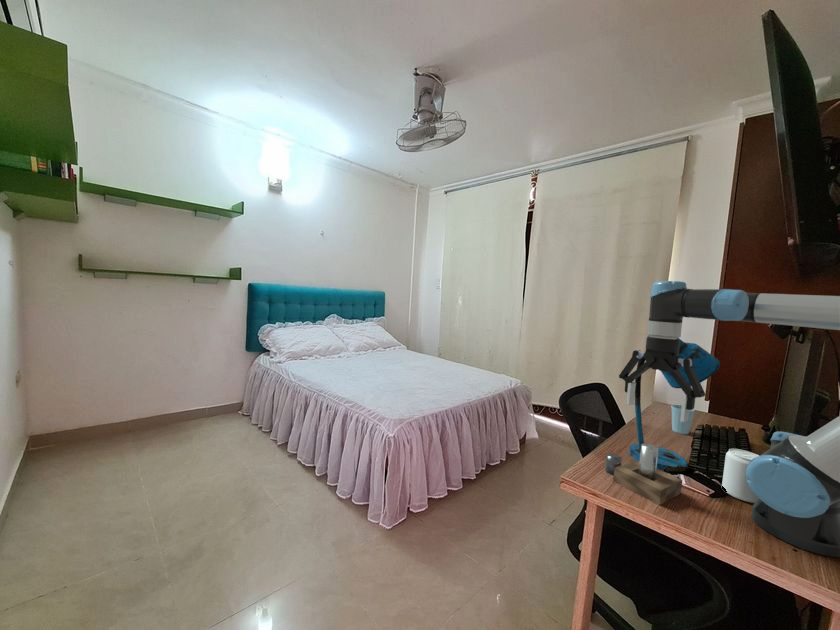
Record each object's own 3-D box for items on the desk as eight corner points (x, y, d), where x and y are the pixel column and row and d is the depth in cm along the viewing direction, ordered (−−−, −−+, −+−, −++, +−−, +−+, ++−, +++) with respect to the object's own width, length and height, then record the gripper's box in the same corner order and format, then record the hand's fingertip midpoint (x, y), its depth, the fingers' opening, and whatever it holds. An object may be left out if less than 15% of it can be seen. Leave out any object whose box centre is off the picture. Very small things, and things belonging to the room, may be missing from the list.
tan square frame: (680, 493, 91) (682, 479, 91) (659, 505, 85) (660, 490, 85) (635, 472, 101) (636, 459, 101) (613, 480, 96) (614, 467, 95)
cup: (694, 433, 136) (697, 409, 136) (688, 437, 132) (691, 412, 131) (672, 426, 143) (675, 403, 142) (666, 430, 138) (668, 406, 138)
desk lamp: (717, 479, 100) (735, 334, 97) (636, 465, 105) (651, 327, 102) (688, 455, 115) (704, 329, 112) (619, 444, 121) (632, 324, 118)
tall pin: (657, 489, 92) (661, 448, 92) (649, 493, 90) (654, 451, 90) (641, 482, 96) (645, 442, 95) (634, 485, 94) (638, 444, 93)
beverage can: (770, 507, 87) (776, 464, 87) (734, 501, 89) (740, 459, 88) (746, 489, 95) (751, 450, 94) (714, 484, 97) (719, 445, 96)
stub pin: (622, 474, 100) (624, 458, 100) (615, 476, 98) (617, 460, 98) (609, 467, 103) (611, 452, 103) (602, 470, 101) (603, 454, 101)
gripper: (727, 344, 81) (717, 426, 83) (624, 331, 103) (617, 397, 104) (715, 344, 78) (704, 431, 79) (610, 331, 99) (603, 399, 101)
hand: (655, 412), depth 92 cm, fingers open, 13 cm apart
